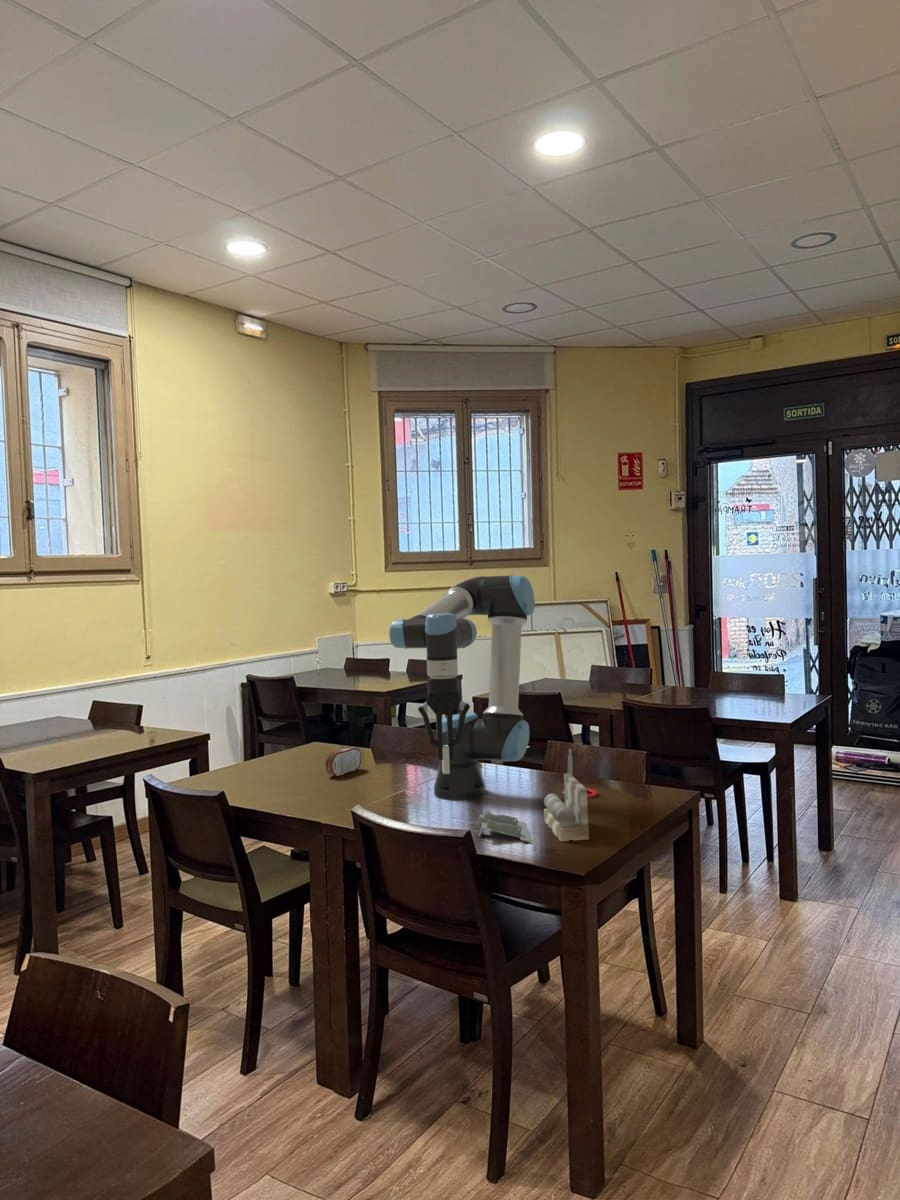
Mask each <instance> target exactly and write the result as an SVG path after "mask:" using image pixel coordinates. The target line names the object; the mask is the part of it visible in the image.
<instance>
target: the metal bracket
mask: <svg viewBox="0 0 900 1200" xmlns="http://www.w3.org/2000/svg"><path fill="white" fill-rule="evenodd" d="M526 824H527V823H526V822H524V821H520V820H518V818H517V817H515V816H511V815H506V814H494V813H492V812H491V811H489V810H486V811H485V812H484V815H483V814H479V817H478V825H477V830H476V829H475V831H474V834H476V835H478V837H480V838H481V836H482V831H483V830H485V831H490V832H493V833H499V834H501V835H507V836H511V837H515V838H519V839H520V841H522V842H525V843H529V842H533V841H534V839H533V840H532V836H530V835H531V833H530V831H529V828H527V825H528V824H527V825H526Z"/></svg>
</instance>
